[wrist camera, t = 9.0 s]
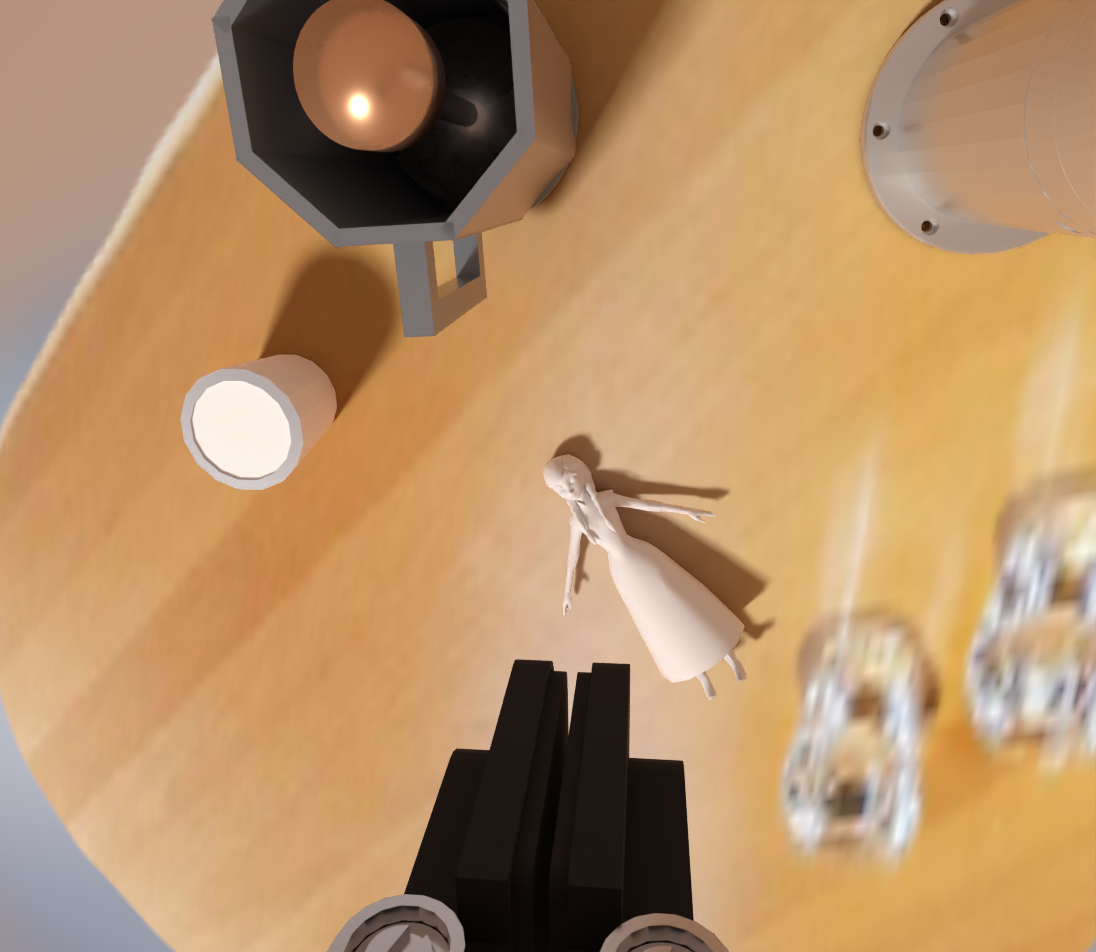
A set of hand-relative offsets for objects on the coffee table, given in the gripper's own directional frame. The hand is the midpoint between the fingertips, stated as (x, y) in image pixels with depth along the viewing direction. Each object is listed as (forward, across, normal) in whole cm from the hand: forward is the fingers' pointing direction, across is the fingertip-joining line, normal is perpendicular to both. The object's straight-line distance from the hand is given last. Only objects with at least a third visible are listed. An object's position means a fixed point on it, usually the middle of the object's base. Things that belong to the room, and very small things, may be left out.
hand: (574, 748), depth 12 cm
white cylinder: (+37, +21, +4) cm, 43 cm away
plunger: (+34, +8, -11) cm, 37 cm away
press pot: (+37, +8, -9) cm, 39 cm away
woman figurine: (+38, -1, +15) cm, 40 cm away
